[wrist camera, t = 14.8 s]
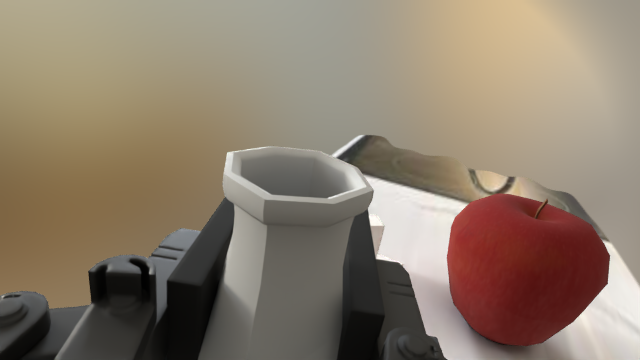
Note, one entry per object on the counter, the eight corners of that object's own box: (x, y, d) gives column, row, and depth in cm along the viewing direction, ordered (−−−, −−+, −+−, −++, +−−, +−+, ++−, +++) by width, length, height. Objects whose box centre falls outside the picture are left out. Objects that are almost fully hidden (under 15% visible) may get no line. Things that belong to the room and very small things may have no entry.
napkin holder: (235, 261, 37) (239, 211, 34) (290, 219, 46) (296, 178, 44) (374, 324, 32) (389, 271, 29) (403, 262, 41) (416, 218, 39)
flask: (122, 398, 13) (102, 118, 9) (305, 341, 16) (347, 125, 12) (138, 729, 7) (101, 340, 3) (415, 528, 10) (553, 234, 7)
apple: (556, 317, 37) (618, 200, 32) (567, 408, 27) (660, 260, 22) (439, 268, 41) (476, 160, 36) (412, 330, 32) (458, 194, 27)
